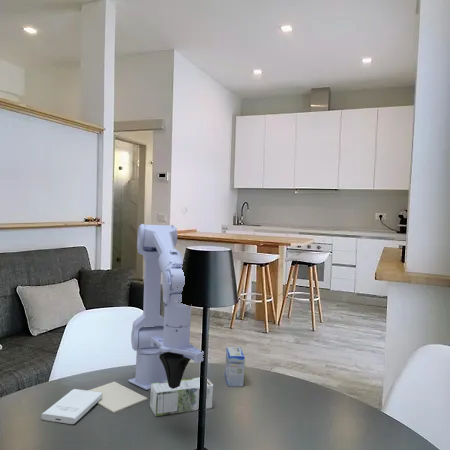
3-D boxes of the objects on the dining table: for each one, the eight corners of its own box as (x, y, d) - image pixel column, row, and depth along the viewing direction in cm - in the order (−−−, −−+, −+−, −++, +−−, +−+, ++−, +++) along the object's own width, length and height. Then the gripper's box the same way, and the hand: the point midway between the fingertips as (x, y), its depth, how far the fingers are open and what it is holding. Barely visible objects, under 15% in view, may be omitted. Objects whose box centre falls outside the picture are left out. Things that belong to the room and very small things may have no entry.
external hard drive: (102, 398, 101) (74, 424, 89) (72, 394, 103) (41, 419, 90) (102, 392, 101) (74, 417, 89) (72, 388, 103) (41, 412, 90)
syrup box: (149, 406, 99) (204, 397, 105) (155, 417, 94) (213, 407, 100) (150, 382, 99) (205, 375, 105) (156, 392, 94) (214, 384, 100)
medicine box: (224, 375, 121) (226, 346, 120) (239, 375, 121) (240, 346, 121) (227, 387, 113) (229, 355, 113) (243, 387, 113) (245, 356, 113)
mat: (114, 383, 112) (114, 381, 112) (147, 399, 103) (147, 398, 103) (81, 394, 104) (81, 392, 104) (113, 413, 95) (113, 411, 95)
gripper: (140, 320, 89) (138, 381, 90) (187, 335, 80) (184, 403, 80) (164, 315, 95) (162, 373, 95) (211, 328, 85) (208, 392, 86)
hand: (174, 386), depth 88 cm, fingers closed
